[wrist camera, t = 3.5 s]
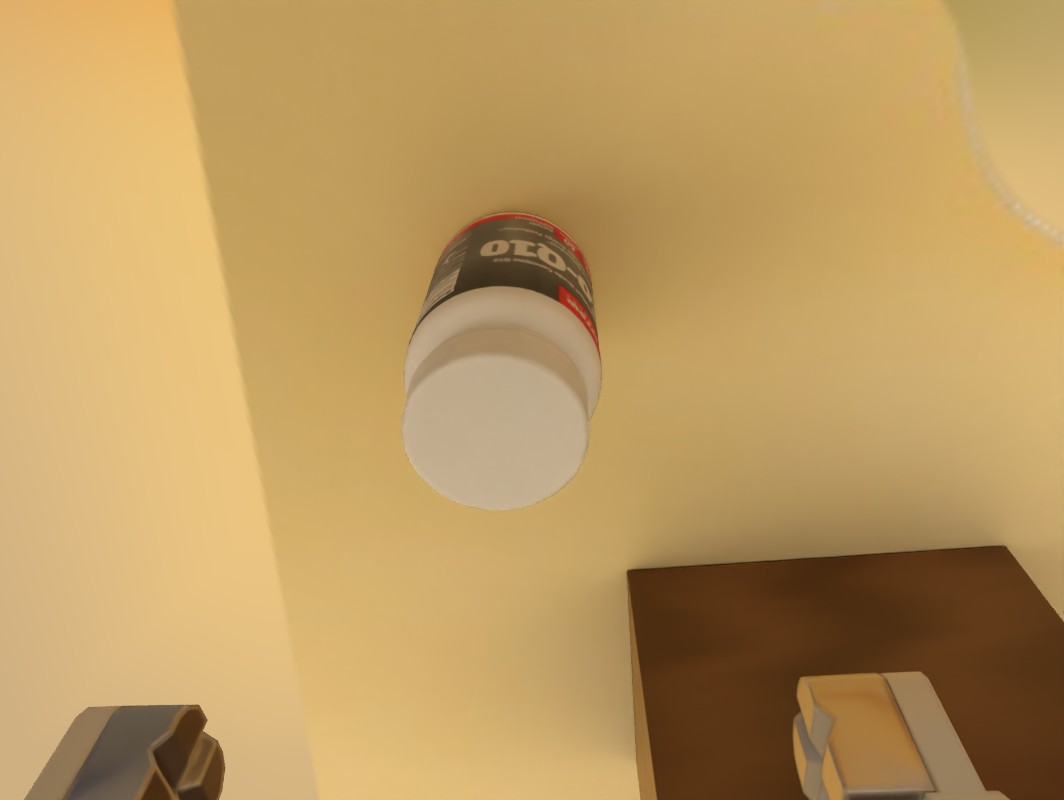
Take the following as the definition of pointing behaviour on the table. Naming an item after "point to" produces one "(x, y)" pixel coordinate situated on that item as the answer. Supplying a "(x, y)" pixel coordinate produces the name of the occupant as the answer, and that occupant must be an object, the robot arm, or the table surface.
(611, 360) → the table surface
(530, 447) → the pill bottle
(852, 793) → the robot arm
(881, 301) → the table surface
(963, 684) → the riser
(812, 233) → the table surface
